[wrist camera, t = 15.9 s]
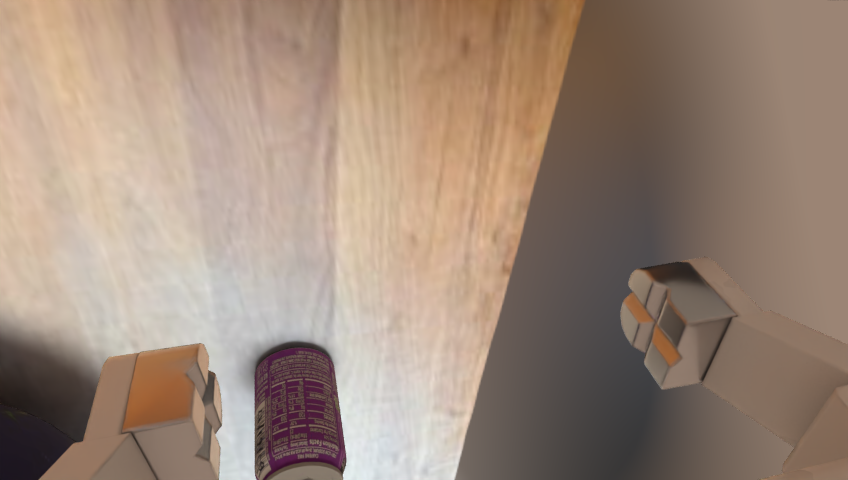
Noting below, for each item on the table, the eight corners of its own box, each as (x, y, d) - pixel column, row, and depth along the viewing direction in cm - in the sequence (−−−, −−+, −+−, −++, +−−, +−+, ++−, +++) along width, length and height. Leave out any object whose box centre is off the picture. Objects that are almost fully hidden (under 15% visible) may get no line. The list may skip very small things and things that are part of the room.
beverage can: (275, 402, 56) (279, 524, 46) (240, 359, 51) (237, 485, 42) (344, 376, 56) (362, 493, 46) (315, 330, 51) (329, 450, 42)
